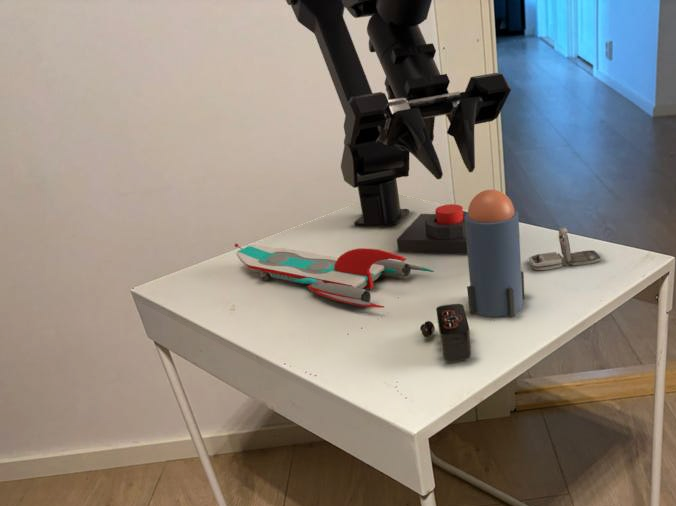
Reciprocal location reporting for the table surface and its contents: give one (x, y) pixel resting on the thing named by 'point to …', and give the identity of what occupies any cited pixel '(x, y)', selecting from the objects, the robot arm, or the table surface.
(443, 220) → the button
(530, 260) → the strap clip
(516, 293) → the toy rocket
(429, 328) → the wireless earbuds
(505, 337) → the table surface
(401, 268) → the toy spaceship
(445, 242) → the box
